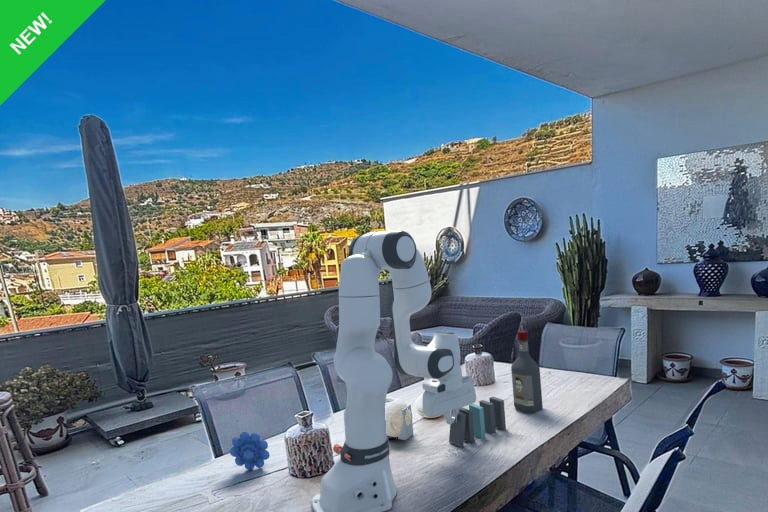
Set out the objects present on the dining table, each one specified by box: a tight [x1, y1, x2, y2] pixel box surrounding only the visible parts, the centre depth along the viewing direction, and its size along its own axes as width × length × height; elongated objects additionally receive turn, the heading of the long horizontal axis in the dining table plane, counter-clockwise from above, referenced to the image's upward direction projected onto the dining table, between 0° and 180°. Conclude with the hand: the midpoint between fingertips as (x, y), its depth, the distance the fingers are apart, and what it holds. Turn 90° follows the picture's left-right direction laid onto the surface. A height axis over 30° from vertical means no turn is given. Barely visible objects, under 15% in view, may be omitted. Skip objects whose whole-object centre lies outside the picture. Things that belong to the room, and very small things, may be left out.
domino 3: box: [468, 403, 486, 439], centre depth 139 cm, size 2×5×10 cm, turn 32°
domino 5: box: [489, 396, 507, 431], centre depth 144 cm, size 2×5×10 cm, turn 32°
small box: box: [398, 403, 414, 441], centre depth 143 cm, size 8×6×10 cm
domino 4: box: [478, 399, 497, 435], centre depth 141 cm, size 2×5×10 cm, turn 32°
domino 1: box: [448, 411, 466, 448], centre depth 134 cm, size 2×5×10 cm, turn 32°
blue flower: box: [229, 431, 270, 471], centre depth 126 cm, size 12×7×12 cm, turn 101°
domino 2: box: [459, 407, 476, 444], centre depth 136 cm, size 2×5×10 cm, turn 33°
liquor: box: [510, 330, 544, 414], centre depth 159 cm, size 9×9×30 cm
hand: (452, 423), depth 133 cm, fingers closed
